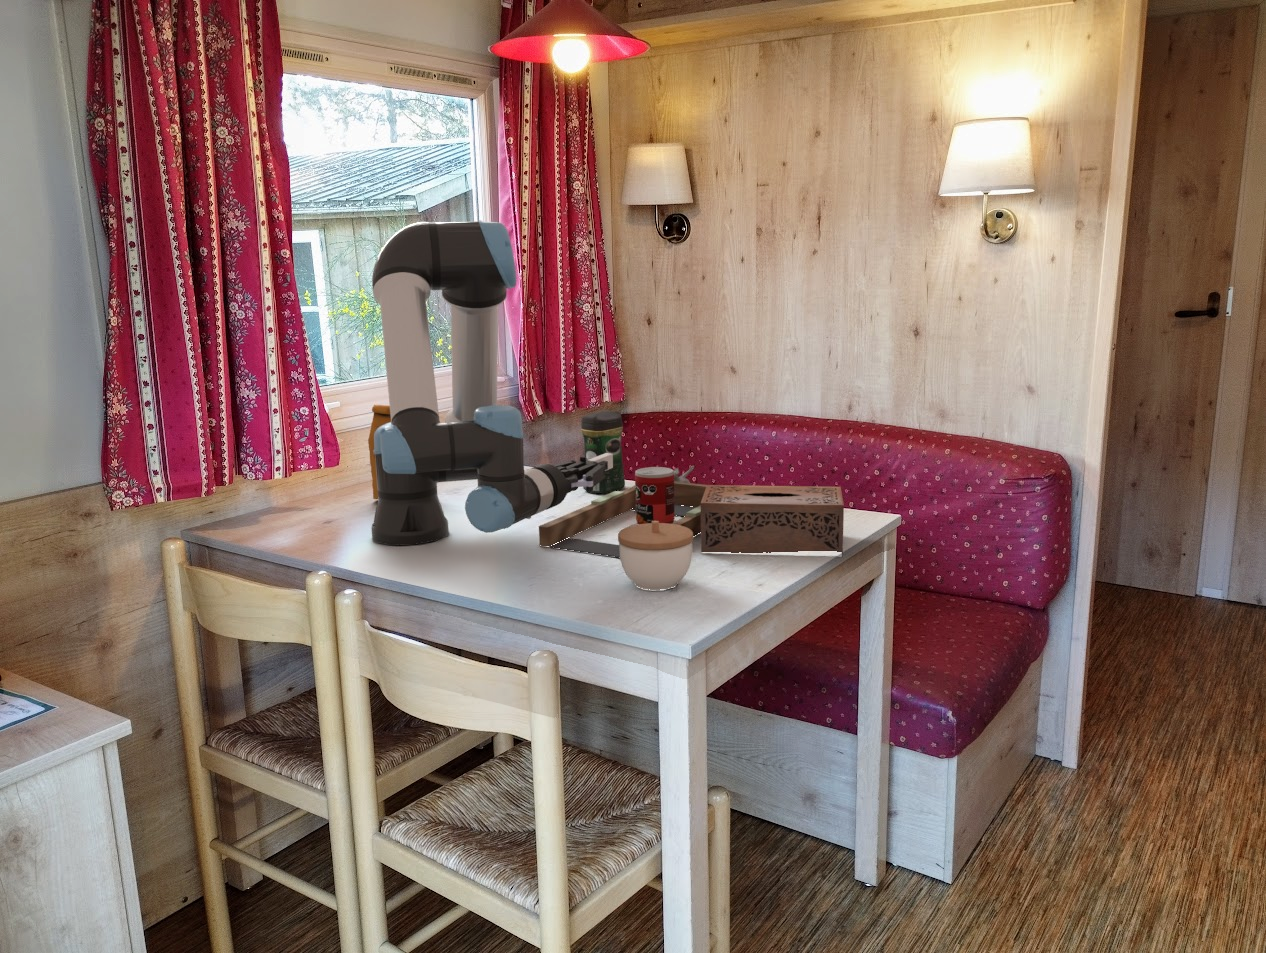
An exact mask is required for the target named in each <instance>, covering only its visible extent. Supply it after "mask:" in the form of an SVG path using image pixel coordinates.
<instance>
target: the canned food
mask: <svg viewBox="0 0 1266 953" xmlns="http://www.w3.org/2000/svg"><path fill="white" fill-rule="evenodd" d="M674 470H675V469H672V468H670V467H663V466H650V467H641V468H638V469H637V470H635V473H634V486H635V495H636V511H635V520H636V523H637V525H639V524H647V523H652V521H659V523H668V524H671V523H673V522H675V517H676V516H675V512H674Z"/></svg>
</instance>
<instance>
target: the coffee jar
mask: <svg viewBox="0 0 1266 953" xmlns="http://www.w3.org/2000/svg"><path fill="white" fill-rule="evenodd" d="M580 427H581V429H580V430H581V434H582V437H583V442H584V443H583V444H584V446H583V447H584V456H583V457H586V461H587V460H589V459H592V458H594V457H597V456H599V455H602V454H605V453H611V454H613V468H611V469H609V470H606V471H605V478H604V479H603V480H602V481H600V482H599V483H598V484H597V485H595V486H594V487H593V490H592V491H588V493H590V492H592V493H591V494H594V493H595V494H609V493H608V492H610V493H612V492H614V491H616V490H617V491H619V490H620V491H621V489H624V488H625V486H626V480H625V472H624V471H625V470H624V469H625V468H624V464H623V452H622V451H623V450H622V434H623V431H624V430H623V429H624V427H623V418H622V415H621V414H620V412H619V411H615V410H614V411H613V410H602V411H597V412H593V413H588V414H584V415H583V416H582V417H581V425H580ZM584 490H585V491H586V492H587V490H586V489H584Z"/></svg>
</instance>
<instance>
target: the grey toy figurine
mask: <svg viewBox="0 0 1266 953" xmlns="http://www.w3.org/2000/svg"><path fill="white" fill-rule="evenodd" d="M694 469H695V465H692V466H689V469H688V470H687V471H686V472H684V473H683V474H681V475H679V474H680V470H679V467H676V468H675V469H673V470H674V482H684V483H691V482H690V480H689V479H688V478H686V477H687V476H688V475H689V474H690V473H692V471H693V470H694Z"/></svg>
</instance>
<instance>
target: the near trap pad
mask: <svg viewBox="0 0 1266 953" xmlns="http://www.w3.org/2000/svg"><path fill="white" fill-rule="evenodd" d="M550 547H554V548H560V549H559V550H561V549H567V550H574V551H580V552H579V553H581V552H588V553H594V554H601V555H608V556H615V557H620V553H619V544H614V543H606V542H601V541H600V542H599V541H593V540H586V539H579V538H574V537H570V538H568V539H565V540H563V541H561V542H559V543H557V544H555V545H552V546H550ZM550 547H549V548H550ZM554 548H553V549H554ZM567 550H566V551H567ZM574 551H573V552H574ZM594 554H593V555H594ZM601 555H600V556H601Z"/></svg>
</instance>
